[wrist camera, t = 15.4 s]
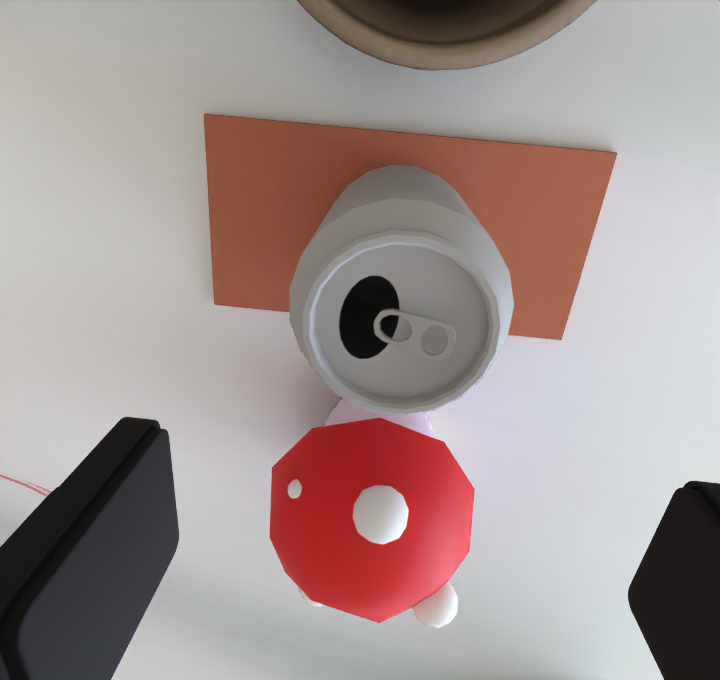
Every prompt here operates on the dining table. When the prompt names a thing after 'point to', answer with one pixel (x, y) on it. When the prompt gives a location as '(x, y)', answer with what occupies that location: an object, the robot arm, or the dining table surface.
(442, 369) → the can
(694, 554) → the robot arm
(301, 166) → the napkin
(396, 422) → the mushroom
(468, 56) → the flower pot
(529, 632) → the dining table surface
